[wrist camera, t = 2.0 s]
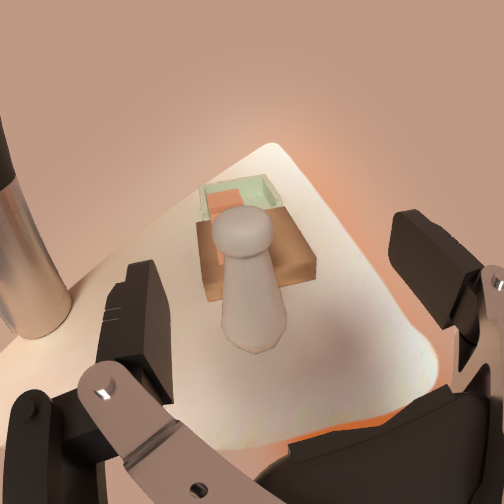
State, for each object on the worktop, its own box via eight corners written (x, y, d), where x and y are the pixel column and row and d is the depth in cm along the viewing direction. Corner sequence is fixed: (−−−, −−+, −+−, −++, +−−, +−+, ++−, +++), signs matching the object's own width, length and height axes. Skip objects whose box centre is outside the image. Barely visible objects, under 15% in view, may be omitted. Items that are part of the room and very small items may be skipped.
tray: (207, 238, 44) (202, 216, 42) (202, 204, 52) (198, 185, 50) (284, 223, 45) (283, 201, 43) (266, 193, 53) (265, 174, 51)
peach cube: (214, 237, 38) (208, 208, 36) (211, 221, 41) (206, 194, 39) (247, 231, 39) (243, 202, 36) (241, 215, 42) (237, 188, 39)
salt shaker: (229, 366, 27) (198, 245, 19) (222, 320, 31) (196, 203, 24) (294, 353, 27) (293, 228, 20) (279, 309, 32) (272, 190, 24)
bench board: (208, 301, 34) (202, 280, 32) (200, 241, 43) (196, 222, 42) (315, 279, 35) (316, 257, 33) (285, 225, 45) (284, 206, 43)
